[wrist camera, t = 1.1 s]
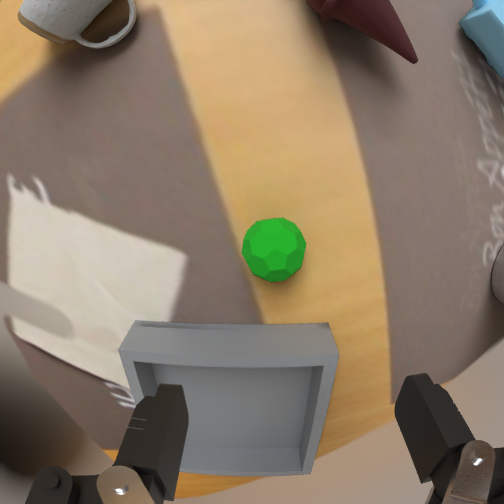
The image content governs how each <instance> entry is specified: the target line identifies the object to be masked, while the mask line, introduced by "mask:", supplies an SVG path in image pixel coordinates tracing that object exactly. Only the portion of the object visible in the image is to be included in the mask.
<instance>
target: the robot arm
mask: <svg viewBox="0 0 504 504" xmlns="http://www.w3.org/2000/svg"><path fill="white" fill-rule="evenodd" d="M492 290H493V293H494V295H495V297H496V298H497V299H498V300H499V301H501V302H502V303H503V304H504V245H503V247H502V248H501V250H500V252H499V254H498V256H497V258H496V261H495V264H494V267H493V272H492ZM395 417H396V420H397V422H398V425H399V427H400V430H401V432H402V435H403V437H404V440H405V442H406V445H407V447H408V450H409V452H410V455H411V458H412V460H413V463H414V466H415V468H416V471H417V474H418V476H419V479H420V482H421V484H422V483H425V482H428V481H432V482H433V487H432V488H431V490H430V493H429V495H428V497H427V500H426V502H425V504H504V447H503V448H492V446H491V445H490V444H488V443H487V442H485V441H482V440H476V439H475V438H474V437H473V434H472V433H471V431H470V429H469V427H468V426H467V424H466V422H465V420H464V419H463V417H462V415H461V414H460V412H459V411H458V408H457V407H456V405H455V404H454V403H453V400H452V398H451V397H450V395H449V394H448V392H447V391H446V390H445V389H443V388H442V387H441V386H440V385H439V384H433V382H432V380H431V379H430V377H429V376H428V374H426V373H422V374H416V375H411V376H407V377H406V378H405V380H404V383H403V385H402V388H401V391H400V393H399V396H398V398H397V401H396V404H395ZM188 424H189V414H188V409H187V404H186V400H185V395H184V390H183V387H182V385H178V384H166V383H160V384H159V386H158V389H157V392H156V395H155V397H153V396H145V397H144V398H143V399H142V400H141V401H140V402H139V403H138V404H137V405H136V407H135V410H134V412H133V415H132V419H131V420H130V423H129V425H128V428H127V431H126V433H125V436H124V439H123V441H122V444H121V447H120V449H119V452H118V455H117V458H116V460H115V462H114V464H113V465H112V467H109V468H107V469H105V470H104V471H102V473H101V474H98V475H91V476H89V475H88V476H71V475H70V474H69V473H68V472H67V471H66V470H65V469H63V468H61V467H58V466H48V467H45V468H43V469H42V470H40V471H39V472H38V474H37V475H36V477H35V480H34V482H33V485H32V487H31V490H30V492H29V495H28V497H27V500H26V503H25V504H163V502H164V500H168V501H174V495H175V490H176V485H177V480H178V475H179V470H180V465H181V460H182V455H183V450H184V445H185V440H186V435H187V431H188Z"/></svg>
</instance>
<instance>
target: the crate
mask: <svg viewBox="0 0 504 504" xmlns="http://www.w3.org/2000/svg"><path fill="white" fill-rule="evenodd" d="M118 350H119V354H120V357H121V361H122V364H123V367H124V370H125V373H126V377H127V380H128V383H129V386H130V389H131V392H132V395H133V397H134V400H135V403H136V405H137V404H138V403H139V402H140V401H141V400H142V399H143V398H144V397H145V396H153V397H155V395H156V392H157V389H158V386H159V384H160V383H166V384H178V385H182V387H183V390H184V395H185V400H186V404H187V409H188V414H189V424H188V431H187V435H186V440H185V445H184V450H183V455H182V460H181V465H180V470H179V472H186V473H196V474H208V475H224V476H286V475H287V476H288V475H304V474H310V473H311V470H312V466H313V463H314V459H315V456H316V452H317V449H318V445H319V441H320V438H321V434H322V430H323V426H324V422H325V418H326V414H327V409H328V405H329V401H330V396H331V392H332V387H333V383H334V378H335V373H336V368H337V363H338V358H339V352H338V349H337V346H336V344H335V341H334V338H333V335H332V332H331V330H330V327H329V324H328V323H307V324H200V323H173V322H153V321H136V320H135V322H134V324H133V325H132V327H131V329H130V330H129V332H128V334H127V335H126V337H125V339H124V340H123V342H122V344H121V346H120V347H119V349H118Z"/></svg>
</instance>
